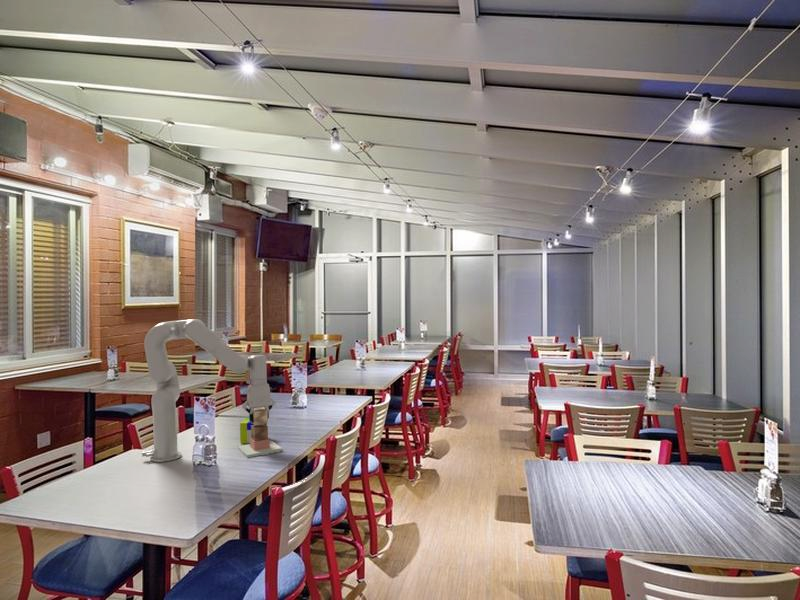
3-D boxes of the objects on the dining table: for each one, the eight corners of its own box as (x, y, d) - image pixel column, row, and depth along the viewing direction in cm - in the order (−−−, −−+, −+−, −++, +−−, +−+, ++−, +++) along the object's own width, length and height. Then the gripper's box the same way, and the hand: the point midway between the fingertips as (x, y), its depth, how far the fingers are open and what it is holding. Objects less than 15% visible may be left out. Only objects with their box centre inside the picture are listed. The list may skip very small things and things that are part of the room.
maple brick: (254, 425, 230) (254, 411, 230) (250, 422, 235) (250, 409, 235) (267, 423, 233) (267, 410, 233) (263, 420, 238) (263, 407, 238)
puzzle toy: (261, 443, 244) (260, 422, 244) (240, 444, 245) (240, 423, 244) (267, 437, 254) (266, 417, 254) (247, 438, 255) (246, 418, 254)
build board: (247, 457, 223) (246, 445, 223) (237, 448, 237) (237, 437, 236) (282, 451, 231) (282, 439, 231) (271, 442, 245) (271, 432, 245)
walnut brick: (254, 441, 230) (254, 428, 230) (251, 438, 235) (250, 425, 235) (268, 439, 233) (267, 426, 233) (264, 436, 238) (263, 423, 238)
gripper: (241, 385, 226) (242, 425, 226) (279, 381, 235) (280, 420, 235) (237, 382, 232) (238, 422, 232) (274, 378, 241) (275, 416, 241)
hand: (259, 420), depth 234 cm, fingers closed on maple brick, 5 cm apart
